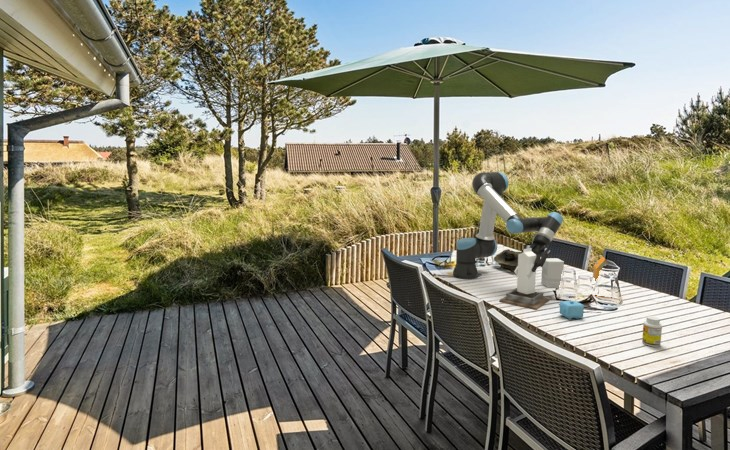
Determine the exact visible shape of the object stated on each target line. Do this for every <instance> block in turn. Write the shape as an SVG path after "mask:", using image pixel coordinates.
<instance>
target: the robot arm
mask: <svg viewBox="0 0 730 450" xmlns="http://www.w3.org/2000/svg"><path fill="white" fill-rule="evenodd" d="M471 184H472V185H471V187H472V190H473V191H474V193H475V194H476V195H477V196H478V197H480V198H482V199H483V203H482V210H481V216H480V223H479V229H478V233H476V234H475V236H474V237H475V238H474V237H463V238H460V239H457V241H456V256H455V257H456V260H455V266H454V268H453V271H452V276H453V277H454V278H458V279H463V280H465V279H466V280H472V279H478V277H479V272H478V268H477V265H476V259H480V258H481V259H482V258H489V257H492V256H494V255H496V253H497V250H498V244H497V241H496V240H495V238H496V237H495V236H494V230H495V229H494V228H495V224H496V219H497V215H498V216H499V217H500V218H501V219H502V220H503V222H505V227H506V231H508V233H510V234H521V233H522V234H523V233H533V232H537V233H536V235H535V236H534V239H533V240H532V243H530V245H527V244H524V247H523V249H522V250H521V251H520V252H521V253H523V250H524V249H528V248H532V252H533V253H534V254H536V259H535V263H534V264H535V265H534V264H532V266H531V267H530V269H529V271H528V272H527V274H526V275H527V276H528V278H530V277H531V275H532V274H533V272H535V271H537V269H538V268H542V267H543V265H544V263H545V261H546V259H547V258H548V257H549V255H550V254H551V253H552V251H551V250H550V248H549V246H550V244H551V242H552V240H553V239H554V238H555V235H556V233H557V232H558V231H559V230H560V227H561V226H562V224H563V222H564V217H563V216H562V215H561V213H559V212H557V211H556V212H554V211H552V212H550V213H549V214H548V215H547V216H541V217H538V216H533V217H532V216H530V217H524V218H523V217H521V216H520V215H519V214H518V213H517V212H516V211H515V210H514V209H513V208H512V206H511V205H509V203H507V201H506V200H504V198H503V193H504V192H505V191H506V190H507V189H508V188H509V178H508V177H507V175H506V174H504V172H499V171H490V172H485V171H484V172H479V173H477V174H476V175H475V176H474V177H473V179H472V182H471ZM521 253H520V254H521ZM517 261H518V257H517ZM513 272H514V274H515V275H516V276H518V264H517V265H516V269H515V271H513Z"/></svg>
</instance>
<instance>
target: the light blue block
mask: <svg viewBox="0 0 730 450" xmlns="http://www.w3.org/2000/svg"><path fill="white" fill-rule="evenodd" d="M556 304H557V305H558V306H559V314H560V315H562V316H563V317H565V318H566V319H568V320H572V319H574V318H575V319H576V320H579V319H580V318H584V308H585V306H584V304H582V303H580V302H578V301H576V300H563V301H559V303H556Z"/></svg>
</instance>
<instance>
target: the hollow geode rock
mask: <svg viewBox="0 0 730 450" xmlns="http://www.w3.org/2000/svg"><path fill="white" fill-rule="evenodd" d="M520 253H521V251H515V250H511V249H509V248H508V249H504V250H503V251H501V252H500V253H498V254H495V256H494V258H493V261H494V262H496V263H498V265H499V266H500V268H501V269H505V268H506V269H510V270H511V271H512V272H514V271H515V269H516V265H517V264H518V261H517V257H518V255H519V254H520Z"/></svg>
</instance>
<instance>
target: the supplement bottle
mask: <svg viewBox="0 0 730 450" xmlns="http://www.w3.org/2000/svg"><path fill="white" fill-rule="evenodd" d="M660 321H661V319H660V318H659V317H657V316H651V315H649V316H646V320H645V321H643V327H642V339H641V340H642V341H641V342H642V343H643V344H644V345H646V346H648V347H653V348H655V347H656V348H657V347H660V346H661V342H662V331H663V325H662V323H661V322H660Z"/></svg>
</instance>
